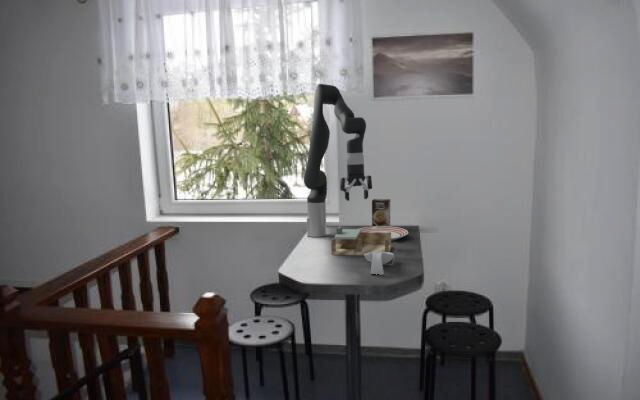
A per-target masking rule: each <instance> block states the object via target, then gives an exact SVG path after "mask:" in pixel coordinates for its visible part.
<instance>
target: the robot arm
mask: <svg viewBox="0 0 640 400" xmlns="http://www.w3.org/2000/svg"><path fill="white" fill-rule="evenodd" d="M313 96H314V97H313V98H314V100H313V112H312V113H313V116H312V122H311V123H312V125H311V130H310V138H309V139H310V140H309V148H308V154H307V155H308V157H307V162H306V167H305V172H304V175H303V183H304V186H305V188H307V189H309V190H310V192H309V195H308V196H307V198H306V201H307V202H306V203H307V205H306V206H307V217H306V233H307V237H311V238H319V237H320V238H321V237H325V236H327V210H326V209H327V207H326V206H327V205H326V198H327V193H328V179H327V175H326V173H325V171H323V170H321V164H322V161H323V159H324V157H325V154H326V152H327V150H328V147H329V142H330V137H331V135H330V134H331V130H330V128H329V126H328V123H327V120H326V118H325V116H324V105H333V106H334V107H333V108H334V109H333V110H334V111H333V112H334V116H335V118H336V119H338V121H339V122H340V125H341V130H342V132H343V133H344V134H347V135H352V134H354V135H355V136H354V138H350V139H348V140H346V175H347V177H344V176H342V177H340V180H339V181H340V184H339V185H340V187H339V190H340V191H341V192H344V199H345V200H346V201H347V202H349V201H350V192H349V191H350V190H351V189H352V188H353V187H362V188H363V199H364V200H368V199H369V190H371V189H373V181H372V180H373V179H372V176H371V175H368V174H367V175H365V158H364V157H365V156H364V149H363V148H364V145H363V144H364V139H365V138H364V137H365V133H366V129H367V123H366V120H365V119H364V118H363V117H360V116H358V117H355V113H354V112H353V110H352V109H351V108H350V107H349V106H348V105H347V104H346V103H347V102H346V101H345V100H344V98H343V95H342V94H341V91H340V90H339V88H338V87H337V86H335V85H332V84H331V85H330V84H325V83H318V84H317V85H316V87H315V89H314V95H313ZM365 180H366V183H365V182H364V181H365ZM346 182H347V185H346Z"/></svg>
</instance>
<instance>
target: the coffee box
mask: <svg viewBox="0 0 640 400" xmlns="http://www.w3.org/2000/svg"><path fill="white" fill-rule="evenodd" d="M374 226H390V227H391V199H390V198H387V199H386V198H384V199H383V198H374V199H371V227H374Z"/></svg>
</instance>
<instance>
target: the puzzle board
mask: <svg viewBox="0 0 640 400" xmlns="http://www.w3.org/2000/svg"><path fill="white" fill-rule="evenodd" d="M330 239H331V240H330V247H331V255H332V256H364V254H365V253H369V252H390V253H391V249H392V241H391V232H360V234H359V235H358V237H357V238H356V239H355V249H342V239H335V237H334V238H333V237H332V238H330ZM336 240H337V241H336Z"/></svg>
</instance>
